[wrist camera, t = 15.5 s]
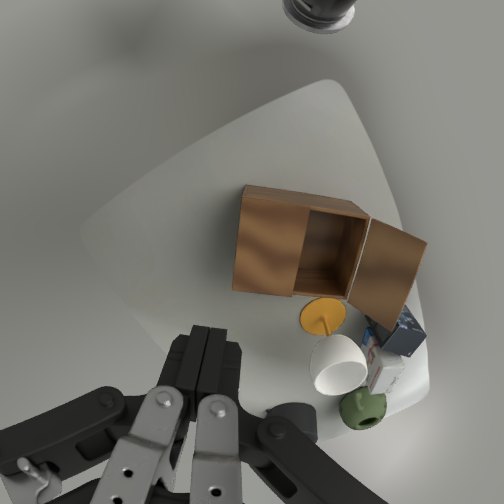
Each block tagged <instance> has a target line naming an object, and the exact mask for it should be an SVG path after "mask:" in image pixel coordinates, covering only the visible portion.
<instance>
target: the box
mask: <svg viewBox="0 0 504 504" xmlns="http://www.w3.org/2000/svg"><path fill="white" fill-rule="evenodd" d="M365 317H366V319H367V321H368V323H369V325H370V327H371V329H372V331H373V334H374V336H375V338H376V340H377V342H378V344H379V346H380V349H381V350H384V351H388V352H392V353H396V354H399V355H403V356H406V357H410V356H411V355H412V354H413V353H414V351H415V350H416V349H417V348H418V347H419V346H420V344H421V343H422V342H423V341H424V339H425V338H426V334H425V332H424V331H423V329H422V328H421V326H420V325H419V323H418V322H417V320H416V319H415V318H414V316H413V315H412V313H411V312H410V311H409V309H408V308H407V306H406V305H404V307H403V309H402V312H401V314H400V316H399V318H398V320H397V323H396V325H395V327H394V329H393V331H392V332H391V331H390V330H388V329H387V328H385V327H384V326H382V325H381V324H379V323H378V322H376V321H375V320H373V319H372V318H370V317H369V316H367V315H366V314H365Z"/></svg>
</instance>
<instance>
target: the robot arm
mask: <svg viewBox="0 0 504 504" xmlns="http://www.w3.org/2000/svg"><path fill="white" fill-rule="evenodd" d="M291 2H292V5H293V7H294V9H295V10H296V11H297V12H298V13H299V14H300V15H301V16H303V17H304V18H306V19H308V20H310V21H313V22H316V23H321V24H331V23H335V22H338V21H340V20H341V19H343V18H344V17H345V15H346V14H347V12H348V10H349V9H350V8H351V7H352V6H353V4H354V3H355V2H356V0H291ZM226 338H227V329H219V328H212V327H211V329H210V327H205V326H198V325H193V327H192V330H191V333H190V336H188V335H182V334H180V335H179V336H178V337H177V338H176V339H175V340H173V342H172V345H171V347H170V351H169V353H168V355H167V359H166V361H165V364H164V366H163V369H162V372H161V375H160V378H159V380H158V383H157V385H156V387H154V388H152V389H151V390H150V391H149V392H148V393H147V394H145V395H140V396H123V394H122V393H121V391H119V390H118V389H116V388H114V387H110V386H104V387H100V388H98V389H96V390H94V391H91V392H89V393H87V394H85V395H83V396H81V397H79V398H76V399H74V400H72V401H70V402H68V403H65V404H63V405H61V406H58V407H56V408H54V409H52V410H49V411H47V412H45V413H42V414H40V415H38V416H35V417H33V418H30V419H28V420H25V421H23V422H21V423H18V424H16V425H13V426H11V427H8V428H6V429H3V430H0V476H1V478H2V481H3V483H4V486H5V488H6V490H7V492H8V494H9V497H10V499H11V501H12V503H13V504H244V503H242V477H241V461H242V462H245V463H248V464H249V465H250V467H251V468H252V469H253V470H254V472H255V473H256V474H257V475H258V476H259V477H260V478H261V479H262V480H263V481H264V483H265V484H266V485H267V486H268V487H269V488H270V489H271V490H272V491H273V492H274V493H275V494H276V495H277V496H278V497H279V498H280V499H281V500H282V501H283V502H284V503H285V504H388V503H387V502H386V501H384V500H383V499H381V498H380V497H379V496H378V495H376V494H375V493H373V492H372V491H371V490H370V489H368V488H367V487H366V486H364V485H363V484H362V483H361V482H359V481H358V480H357V479H355V478H354V477H353V476H352V475H351V474H349V473H348V472H347V471H346V470H344V469H343V468H342V467H341V466H340V465H338V464H337V463H336V462H335V461H334V460H333V459H332V458H330V457H329V456H328V455H327V454H326V453H325V452H324V451H323V450H321V449H320V448H319V447H318V446H317V445H316V444H315V443H314V442H313V441H311V440H310V439H309V438H308V437H307V436H306V435H305V434H304V433H303V432H302V431H301V430H300V429H299V428H298V427H297V426H296V425H294V424H293V423H292V422H291V421H290V420H289V419H287V418H285V417H282V416H269V417H266V418H264V419H262V418H259V417H257V416H254V415H251V414H249V413H248V412H246V411H245V410H244V409H243V408H242V407H241V405H240V403H239V400H238V393H239V380H240V368H241V356H242V351H241V348H240V346H239V344H238V342H230V341H226ZM196 419H197V427H196V439H195V451H194V454H193V460H192V472H191V487H190V493H173V489H174V485H175V477H176V471H177V467H178V464H179V461H180V457H181V454H182V451H183V447H184V444H185V441H186V438H187V432H188V427H189V423H190V421H193V422H196ZM109 458H110V459H109ZM107 459H109V461H108V463H107V465H106V467H105V470H104V472H103V474H102V477H101V478H97V479H94V480H91V481H89V482H87V483H85V484H83V485H82V486H80V487H78V488H76V489H74V490H72V491H70V492H68V493H66V494H64V495H62V496H59V497H57V498H55V499H53V498H54V497H56V496H57V495H59V494H60V493H61V491H62V482H61V481H63V480H66V479H68V478H70V477H72V476H75V475H77V474H79V473H81V472H83V471H85V470H87V469H89V468H91V467H93V466H95V465H97V464H99V463H101V462H103V461H105V460H107ZM52 499H53V500H52Z"/></svg>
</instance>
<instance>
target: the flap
mask: <svg viewBox="0 0 504 504" xmlns="http://www.w3.org/2000/svg"><path fill="white" fill-rule="evenodd" d="M426 246H427V242H425V241H423V240H421V239H419V238H416V237H414V236H412V235H410V234H408V233H406V232H403V231H401V230H399V229H397V228H394V227H392V226H390V225H388V224H385V223H383V222H381V221H378V220H376V219H374V218H373V219H372V220H371V224H370V228H369V232H368V236H367V240H366V243H365V247H364V250H363V254H362V257H361V261H360V264H359V267H358V271H357V274H356V277H355V280H354V283H353V286H352V289H351V293H350V296H349V298H348V301H347V302H348V303H349V304H351V305H352V306H354V307H355V308H357V309H358V310H360V311H361V312H363V313H364V314H366V315H367V316H369V317H370V318H372V319H373V320H375V321H376V322H378V323H379V324H381V325H382V326H384V327H385V328H387V329H388V330H390V331H391V332H392V331H393V329H394V327H395V325H396V323H397V320H398V318H399V316H400V314H401V312H402V309H403V307H404V305H405V302H406V300H407V298H408V295H409V293H410V290H411V288H412V285H413V283H414V280H415V278H416V275H417V272H418V269H419V267H420V264H421V261H422V258H423V255H424V252H425V249H426Z"/></svg>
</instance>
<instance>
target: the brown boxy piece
mask: <svg viewBox="0 0 504 504" xmlns="http://www.w3.org/2000/svg"><path fill="white" fill-rule="evenodd" d="M369 220H370V216H369V215H368V214H367V213H365V212H364V211H363V210H362V209H361V208H359V207H358V206H357V205H356V204H354V203H353V202H352V201H347V200H342V199H337V198H331V197H325V196H320V195H314V194H308V193H301V192H295V191H288V190H282V189H275V188H267V187H260V186H252V185H245V188H244V192H243V195H242V202H241V210H240V219H239V227H238V236H237V245H236V254H235V263H234V272H233V282H232V290H235V291H243V292H251V293H259V294H268V295H277V296H286V297H292V294H293V295H303V296H313V297H323V298H334V299H345V300H346V299H347V296H348V293H349V290H350V287H351V284H352V280H353V277H354V274H355V271H356V267H357V264H358V261H359V257H360V254H361V250H362V247H363V243H364V239H365V236H366V232H367V228H368V224H369Z"/></svg>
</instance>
